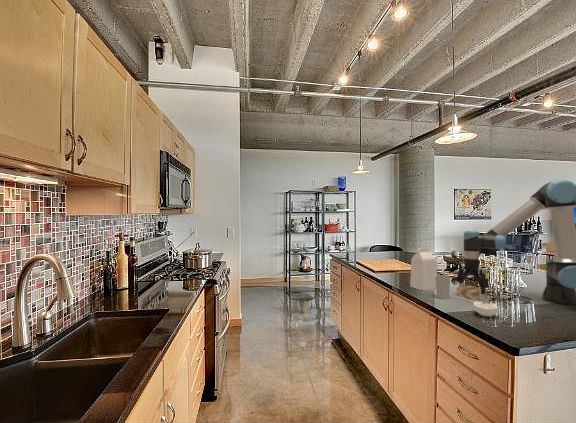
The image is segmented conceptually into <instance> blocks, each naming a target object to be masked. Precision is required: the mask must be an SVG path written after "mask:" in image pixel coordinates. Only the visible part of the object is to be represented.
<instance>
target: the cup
mask: <svg viewBox="0 0 576 423" xmlns="http://www.w3.org/2000/svg"><path fill="white" fill-rule="evenodd" d="M435 281H436V297H437V298H438V299H444V300H445V299H450V291H451V290H450V289H451V288H450V287H451V276H450V275H444V274H443V275H441V274H437V275H436V276H435Z"/></svg>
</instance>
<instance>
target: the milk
mask: <svg viewBox="0 0 576 423" xmlns="http://www.w3.org/2000/svg"><path fill="white" fill-rule="evenodd" d="M410 260H411V261H410V262H411V264H410V285H409V287H410V288H412V287H413V288H412V289H415V288H416V290H418V289H419V291H421V290H423V291H422V292H426V291H425V290H429V291H435V290H436V281H435V276H436V275H438V266H437V265H438V264H437V259H436V258H435V256H434V255H433V254H432V253H431V251H430V248H429V247H427V246H426V247H419V248H418V251H417V252H416V253H415V254H414V255H413V256H412V257H411V258H410Z"/></svg>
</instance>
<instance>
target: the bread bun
mask: <svg viewBox="0 0 576 423" xmlns="http://www.w3.org/2000/svg"><path fill="white" fill-rule="evenodd" d="M479 288H480V287H476V286H472V285H465V286H464V287H459V286H457V287H456V295H457V296H458V297H462V298H465V299H469V300H472V301H477V300H479ZM458 297H457V298H458ZM487 298H488V290H487V288H485V294H484V299H487ZM465 299H464V300H465ZM472 301H471V302H472Z"/></svg>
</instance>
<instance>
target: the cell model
mask: <svg viewBox="0 0 576 423" xmlns="http://www.w3.org/2000/svg"><path fill="white" fill-rule="evenodd" d="M473 309H474V312H477V313H478V314H479V315H480V316H482V317H489V318H490V317H493V316H495V315H496V314H498V312H499V309H500V308H499V306H498V305H497V304H495V303H492V302H490V300H484V301H480V302H473Z"/></svg>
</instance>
